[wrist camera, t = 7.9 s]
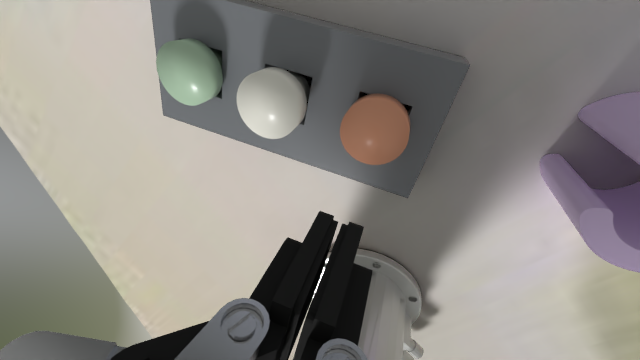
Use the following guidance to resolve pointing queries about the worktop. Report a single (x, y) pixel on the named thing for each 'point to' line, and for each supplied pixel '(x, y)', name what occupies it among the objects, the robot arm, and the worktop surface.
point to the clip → (603, 205)
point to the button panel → (314, 81)
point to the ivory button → (273, 101)
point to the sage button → (190, 70)
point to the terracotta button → (375, 129)
